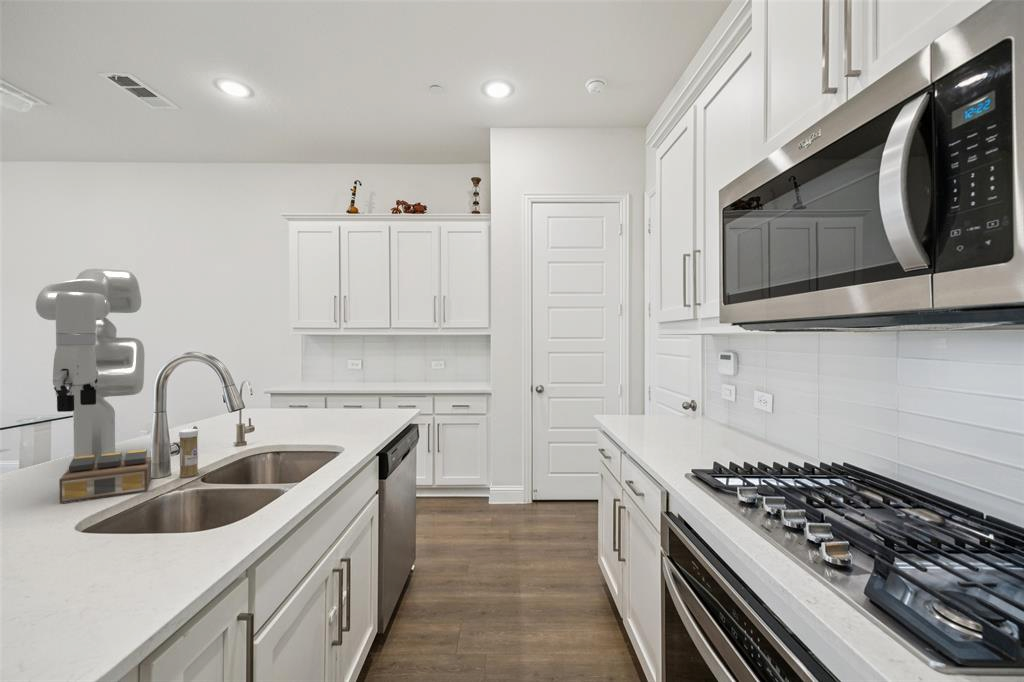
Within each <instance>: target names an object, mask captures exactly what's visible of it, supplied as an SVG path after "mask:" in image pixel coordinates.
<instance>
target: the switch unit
mask: <svg viewBox="0 0 1024 682" xmlns="http://www.w3.org/2000/svg"><path fill="white" fill-rule="evenodd" d="M151 480H152V456H149V457H146V461H145V463H140V464H131V465H124V459H121V464H120V465H119V466H114V467H105V468H97V463H94V467H93V468H92V469H88V470H79V471H71V472H69V470H68V471H67V470H66V472H65V473H64V474H63V475H62V476H61V477H60V478H59V487H58V488H59V504H60V503H62V504H65V503H64V502H69V503H71V502H70V501H76V502H80V501H79V500H83V501H88V500H87V499H90V500H95V499H94V498H97V499H102V498H103V497H104V498H111V497H117V495H118V496H125V495H130V494H139V493H145V492H148V489H149V486H150V483H151ZM110 496H111V497H110Z"/></svg>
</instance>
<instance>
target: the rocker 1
mask: <svg viewBox="0 0 1024 682" xmlns="http://www.w3.org/2000/svg"><path fill="white" fill-rule="evenodd" d="M95 461H96V455H90V456H80V457H74V456H73V458H72V459H71V462H70V463H69V465H68V468H69V472H71V471H79V470H88V469H92V468H93V467H94V463H95Z"/></svg>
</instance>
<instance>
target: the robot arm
mask: <svg viewBox="0 0 1024 682" xmlns="http://www.w3.org/2000/svg"><path fill="white" fill-rule="evenodd" d="M141 306H142V295H141V290H140V285H139V281H138V278H137V277H136V276H135V275H134V274H133V273H132V272H130V271H129V270H120V269H109V268H106V269H105V268H89V269H85V270H83V271H81V272H80V273H79V274H78V275H77V276H76V278H75V279H71V280H67V281H62V282H61V281H60V282H56V283H50V284H49V285H46V286H45V287H43V288H42V289H41V291H40V292H39V293H38V295H37V297H36V299H35V310H36V313H37V314H38V316H39V317H40V318H41V319H44V320H48V321H55V346H56V348H55V351H54V357H53V367H52V368H53V369H52V385H53V386H54V387H53V389H54V391H55V396H56V410H57V412H58V413H62V412H63V413H65V412H73V458H74V457H80V456H90V455H96V461H95V463H98V460H99V458H100V456H101V454H109V453H116V411H115V409H114V407H113V405H112V404H111V403H110V402H108V401H107V399H105V398H108V397H123V396H135V395H138V394H140V393H141V392H142V390H143V389H144V384H145V383H144V381H145V347H144V344H143V342H142V340H140V339H139V338H135V337H117V327H116V326H115V324H114V323H112V321H111V320H110V319H108V318H107V316H108V315H109V314H110V313H112V314H133V313H137V312H138V311H139V310H140V309H141ZM68 470H69V467H68V468H67V469H66V472H67V471H68Z"/></svg>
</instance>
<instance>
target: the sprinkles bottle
mask: <svg viewBox="0 0 1024 682" xmlns="http://www.w3.org/2000/svg"><path fill="white" fill-rule="evenodd" d="M178 433H179V434H178V436H179V467H180V468H179V477H181V478H190V477H195V476H198V474H199V472H198V463H199V456H198V454H199V453H198V436H199V430H198V429H197V428H185V429H182V430H179V431H178Z"/></svg>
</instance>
